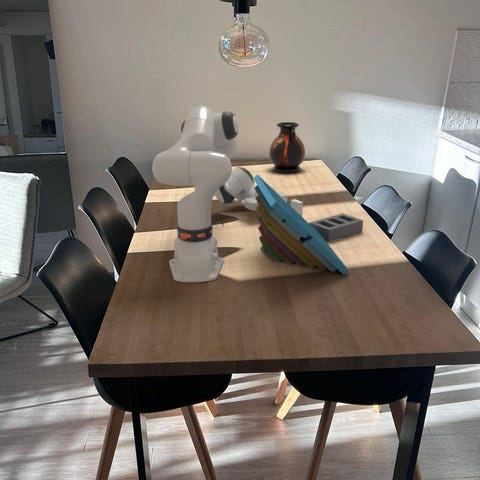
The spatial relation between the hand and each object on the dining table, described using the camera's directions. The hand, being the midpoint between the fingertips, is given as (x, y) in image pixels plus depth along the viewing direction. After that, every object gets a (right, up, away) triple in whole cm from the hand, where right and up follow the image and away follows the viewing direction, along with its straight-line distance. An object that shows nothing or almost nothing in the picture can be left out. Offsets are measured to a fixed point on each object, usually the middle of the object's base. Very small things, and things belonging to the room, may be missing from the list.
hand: (277, 205), depth 209 cm
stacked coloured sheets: (+4, -21, -33) cm, 39 cm away
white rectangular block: (+7, -10, -7) cm, 14 cm away
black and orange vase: (+12, +27, +89) cm, 94 cm away
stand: (+22, -12, -12) cm, 28 cm away
